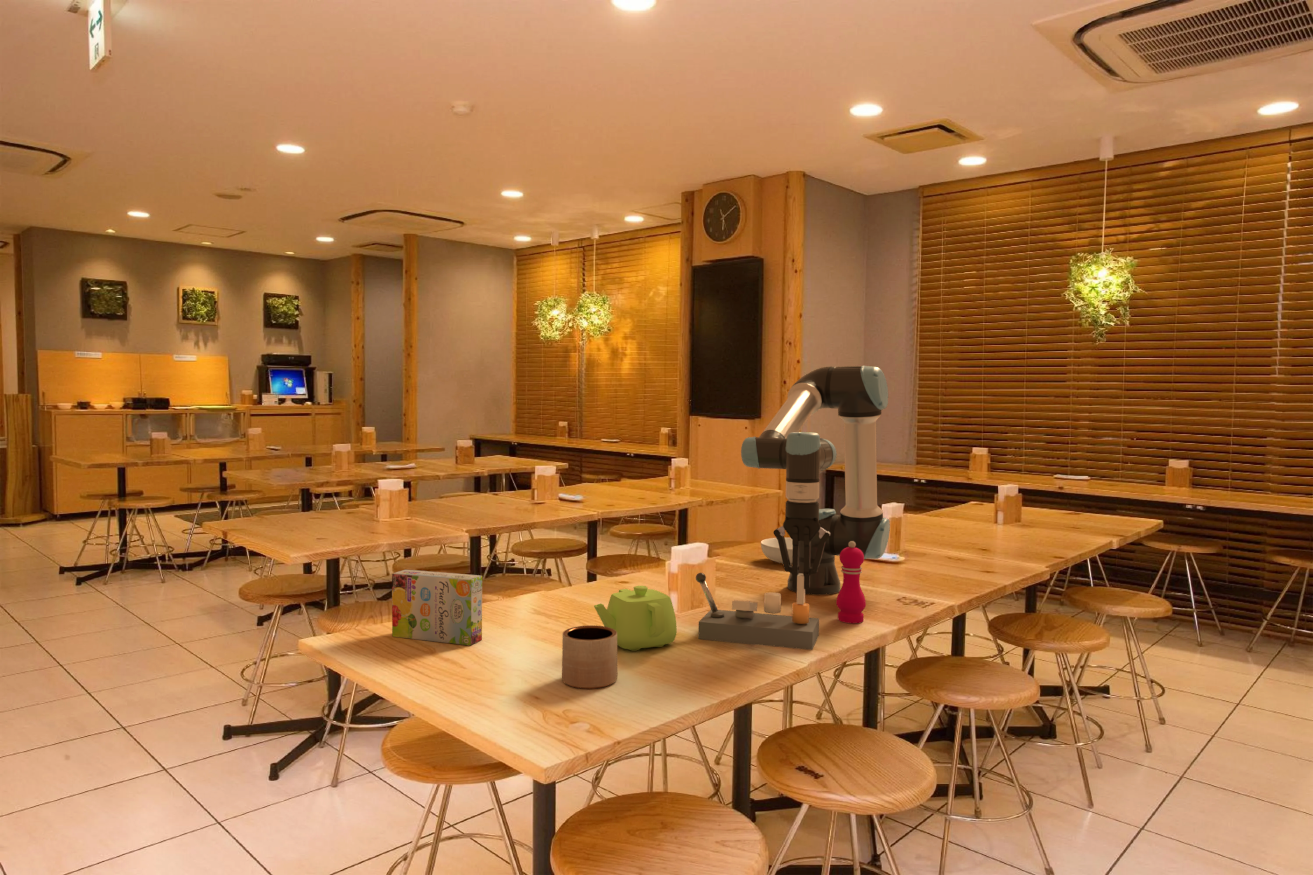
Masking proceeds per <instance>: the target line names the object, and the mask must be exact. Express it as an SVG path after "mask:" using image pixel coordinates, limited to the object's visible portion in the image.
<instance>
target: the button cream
mask: <svg viewBox="0 0 1313 875" xmlns="http://www.w3.org/2000/svg"><path fill="white" fill-rule="evenodd" d="M763 600H764V602H763V603H764V604H763V612H764V613H765V614H773V615H776V614H780V613H781V611H782V610H781V609H782V608H781V606H782V594H781V593H779V592H774V591H773V592H769V591H768V592H765V593H764V595H763Z"/></svg>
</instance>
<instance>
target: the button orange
mask: <svg viewBox="0 0 1313 875" xmlns="http://www.w3.org/2000/svg"><path fill="white" fill-rule="evenodd" d="M791 612H792V613H791V616H792V622H794V623H798V624H806V623H809V618H810V604H809V603H807V602H805V603H804V604H803V605H802V604H797V601H795V602H793V603H792V609H791Z"/></svg>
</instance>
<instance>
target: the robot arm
mask: <svg viewBox="0 0 1313 875" xmlns="http://www.w3.org/2000/svg"><path fill="white" fill-rule="evenodd" d="M888 404H889V388H888V383H887V379H886V375H885V374H884V372H883V370H882V369H881V368H879V367H877V366H871V365H870V366H869V365H847V366H824V367H819V368H815V369H814V370H812V371H810V372H808V373H805V375H803V376H802V377H800V378H799V379H798V380H797V381H796V382H794V383H793V385H792V386H791V387H790V388H789V390H788V392H787V399H786V400H785V402H784V403H783V404H782V405H781V407H780V408H779V409H778V411H777V413H775V415H774V416H773V417H772V419H771V420H770V422H769V423H768V424H767V426H766V427H765V429H764V430H763V431H762V432H761V434H760V435H759V436H758V437H757V436H751V437H750V436H749V437H745V439H744V440H743V441H742V443H741V449H740V455H741V461H742V464H744V466H745V467H747V468H756V469H771V470H773V469H774V470H785V498H786V499H787V500H786V501H785V509H784V510H785V512H784V513H785V514H784V515H785V519H784V521H783V523H782V525H781V526H779V527H777V528H775V529H774V530H773V536H774V538H777V540H778V543H779V548H780V552H781V557H782V561H783V564H782V565H783V570H784V571H785V572H788V573H789V576H788V578H787V589H788V590H789V591H792V592H793V593H796V602H797V604H802V605H803V604H804V603H806V595H812V596H813V595H817V596H818V595H819V596H820V595H822V596H823V595H833V594H837V593H839V592H840V590H841V580H840V577H839V574H838V570H837V567H836V565H835V564H836V562H835V559H836V558H835V557H836V556H838V557H840V553H841V551H842V550H843V549H844V548H847V547H849V545H848V544H849V542H850V541H854V542H855V544H856V546H855V548H858V549H860V550H861V551H862V552H863V555H864V560H878V559H881V558H882V556H883V557H884V554H885V552H886V549H887V546H888V543H889V537H890V530H891V524H890V520H889V519H888V518H887V517H884V512H883V509H882V508H881V507H880V506H879V505H878V485H877V484H878V478H877V477H878V476H877V466H878V465H877V420H878V419H879V418H880V417H881V416H882V410H885V409H887V407H888ZM821 409H837V414H838V415H837V416H838V417H839V419H841V420H842V421H843V439H844V440H843V442H844V479H845V480H844V481H845V483H844V484H845V485H844V486H845V492H844V493H845V505H844V506H843V507H842V508H841V509H840V512H839V513H840V514H837V512H836V510H835V509H834V508H820V502H819V501H818V500H819V499H820V474H821V473H820V472H821V471H825V470H827V469H829V468H830V467H832V466H833V465H834V464H835V462H836V459H837V448H836V447H835V445H834V444H833V442H831V441H830V440H829V439H827V438H826V439H825V438H822V437H821V436H820V434H819V433H817V432H810V431H809V432H808V431H801V429H803V426H805V423H807V421H808V419H809V418H810V416H811V415H814V414H815V413H817V412H818V411H819V410H821ZM786 533H787V535H788V536H789V538H791V539H792V545H793V553H792V565H791V564H790V559H789V555H788V551H787V546H786V542H785V538H786V537H785V535H786Z"/></svg>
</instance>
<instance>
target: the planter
mask: <svg viewBox="0 0 1313 875" xmlns="http://www.w3.org/2000/svg"><path fill="white" fill-rule="evenodd" d="M561 646H562V648H561V649H562V651H561V653H562V654H561V656H562V657H561V658H562V659H561V677H562V678H561V680H562V682H563V683H564V684H566V685H567V686H569V687H572V688H573V689H574V688H575V689H580V690H596V689H602V688H603V689H604V688H606V687H608V686H611V685H612V684H614V683H615V682H616V681H617V679H618V645H617V631H616V630H614V629H612V628H609V627H605V626H604V625H579V626H573V627H570V628H567V629H565V630H564V631H563V632H562V644H561Z"/></svg>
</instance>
